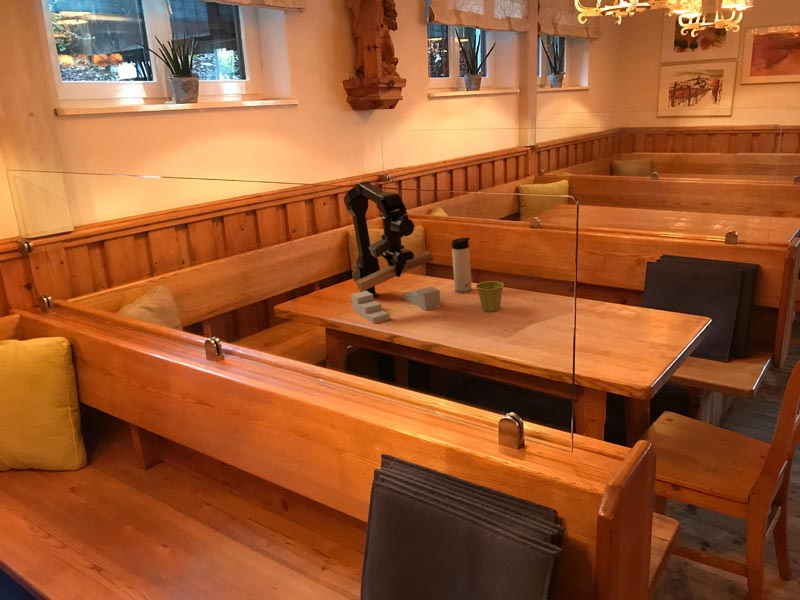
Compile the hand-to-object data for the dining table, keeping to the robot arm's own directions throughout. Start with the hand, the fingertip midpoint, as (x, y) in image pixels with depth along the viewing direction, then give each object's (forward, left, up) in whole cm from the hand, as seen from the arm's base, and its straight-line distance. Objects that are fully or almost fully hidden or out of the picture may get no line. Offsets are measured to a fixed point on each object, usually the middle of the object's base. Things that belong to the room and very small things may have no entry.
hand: (396, 275), depth 233 cm
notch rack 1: (-2, -10, -13) cm, 16 cm away
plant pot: (+21, +25, -13) cm, 34 cm away
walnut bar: (0, 0, 0) cm, 1 cm away
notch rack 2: (-2, +10, -13) cm, 16 cm away
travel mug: (-3, +29, -13) cm, 31 cm away
